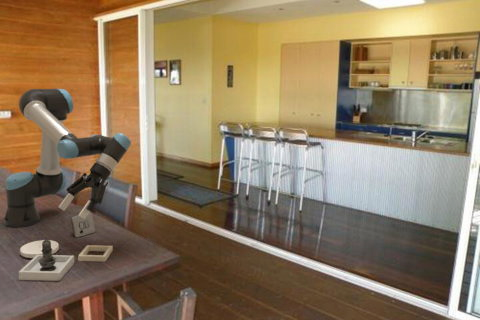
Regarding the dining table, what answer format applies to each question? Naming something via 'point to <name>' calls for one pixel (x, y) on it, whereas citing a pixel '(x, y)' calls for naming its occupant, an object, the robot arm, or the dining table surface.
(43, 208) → the dining table surface
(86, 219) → the electrical switch
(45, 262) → the chess piece
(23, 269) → the parts tray
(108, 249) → the socket collar
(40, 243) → the cream gear
